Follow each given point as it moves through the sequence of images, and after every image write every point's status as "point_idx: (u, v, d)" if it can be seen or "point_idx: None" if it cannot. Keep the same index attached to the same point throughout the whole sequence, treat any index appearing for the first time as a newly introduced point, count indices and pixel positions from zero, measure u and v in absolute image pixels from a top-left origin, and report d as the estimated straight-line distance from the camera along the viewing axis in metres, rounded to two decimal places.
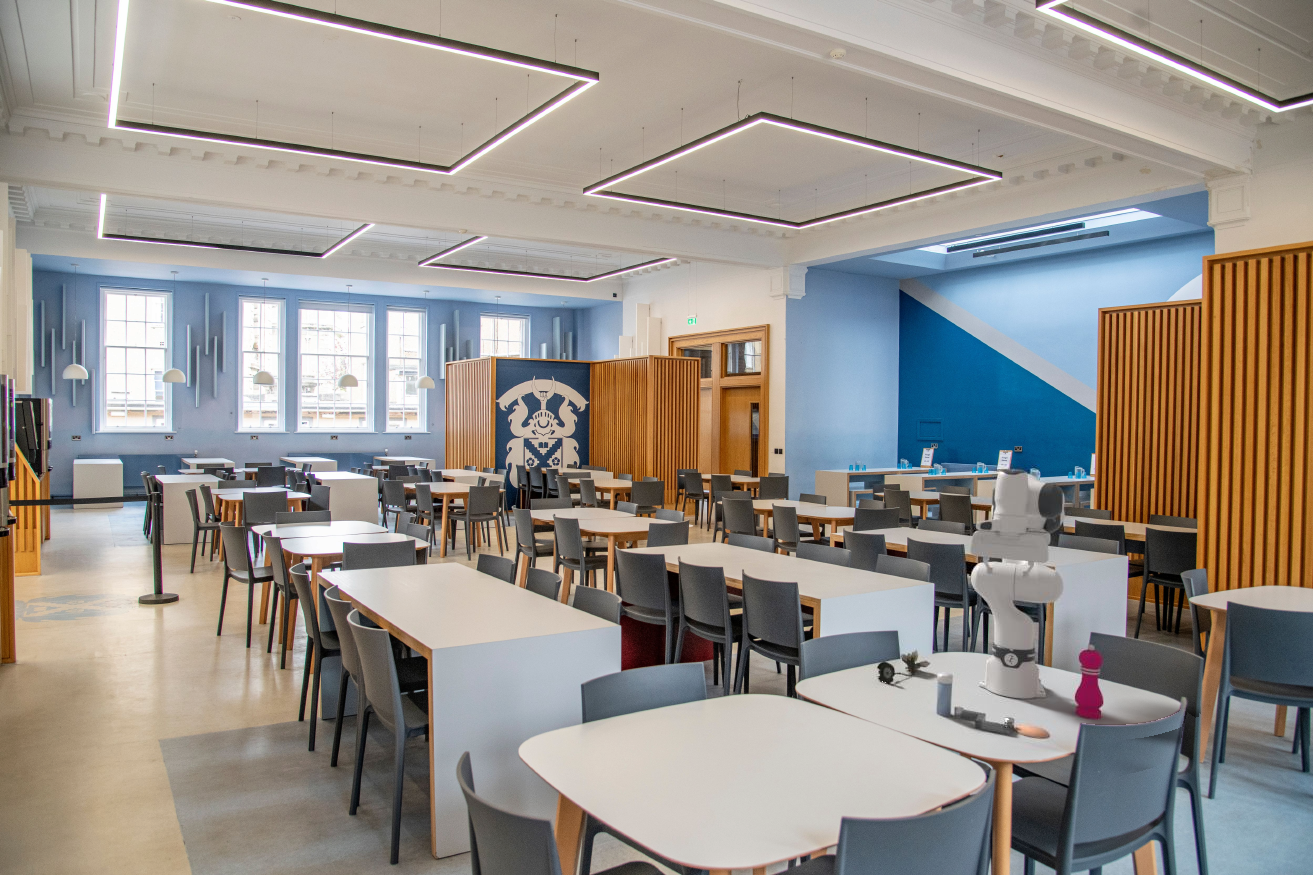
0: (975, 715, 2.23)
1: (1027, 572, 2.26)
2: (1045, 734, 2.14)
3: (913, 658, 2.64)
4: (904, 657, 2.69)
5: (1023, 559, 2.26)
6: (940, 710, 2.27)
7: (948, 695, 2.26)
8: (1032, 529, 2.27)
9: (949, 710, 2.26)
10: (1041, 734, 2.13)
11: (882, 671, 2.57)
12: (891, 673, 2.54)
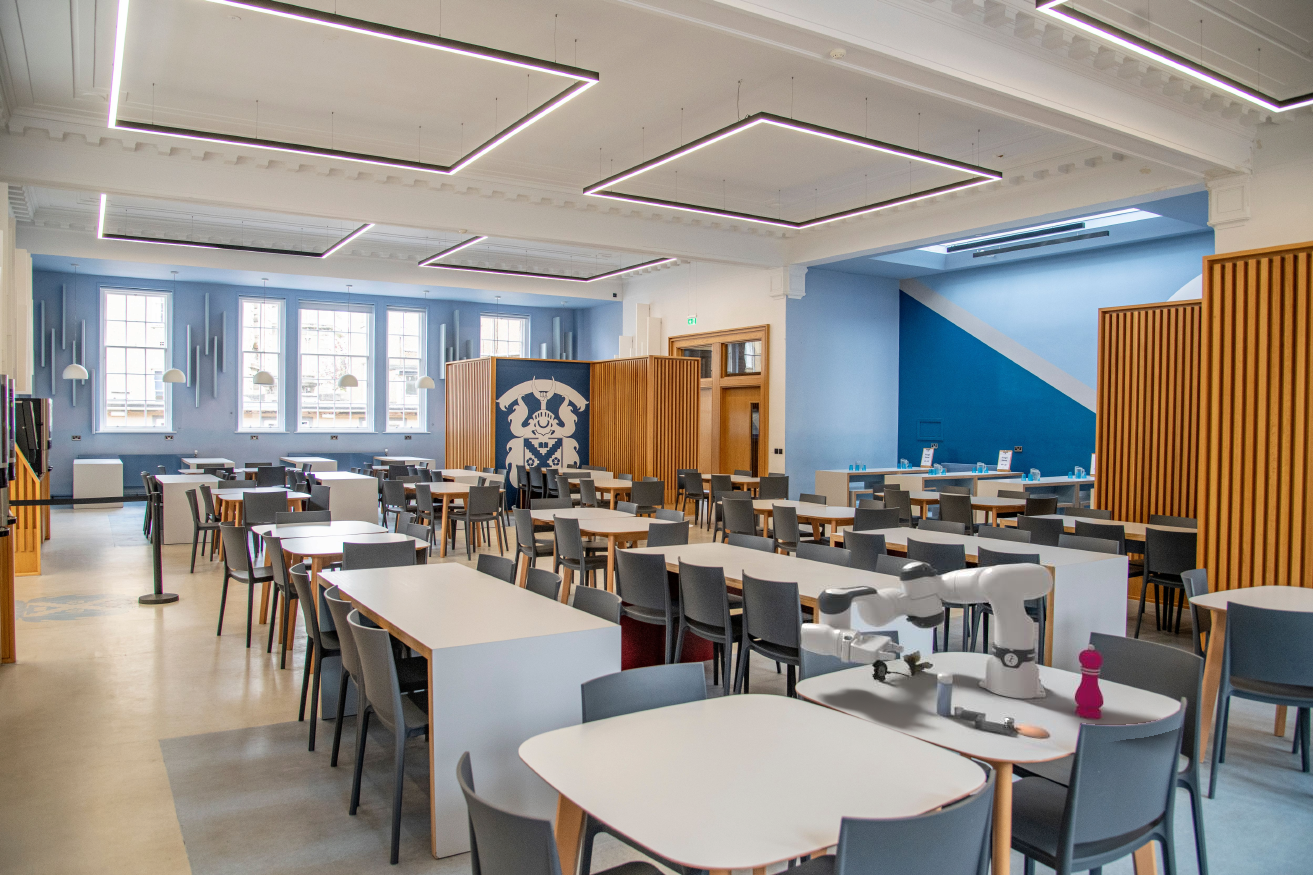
0: (975, 715, 2.23)
1: (898, 645, 2.40)
2: (1045, 734, 2.14)
3: (914, 658, 2.64)
4: (908, 657, 2.69)
5: (885, 641, 2.40)
6: (940, 710, 2.27)
7: (948, 695, 2.26)
8: None
9: (949, 710, 2.26)
10: (1041, 734, 2.13)
11: (877, 669, 2.59)
12: (884, 671, 2.56)
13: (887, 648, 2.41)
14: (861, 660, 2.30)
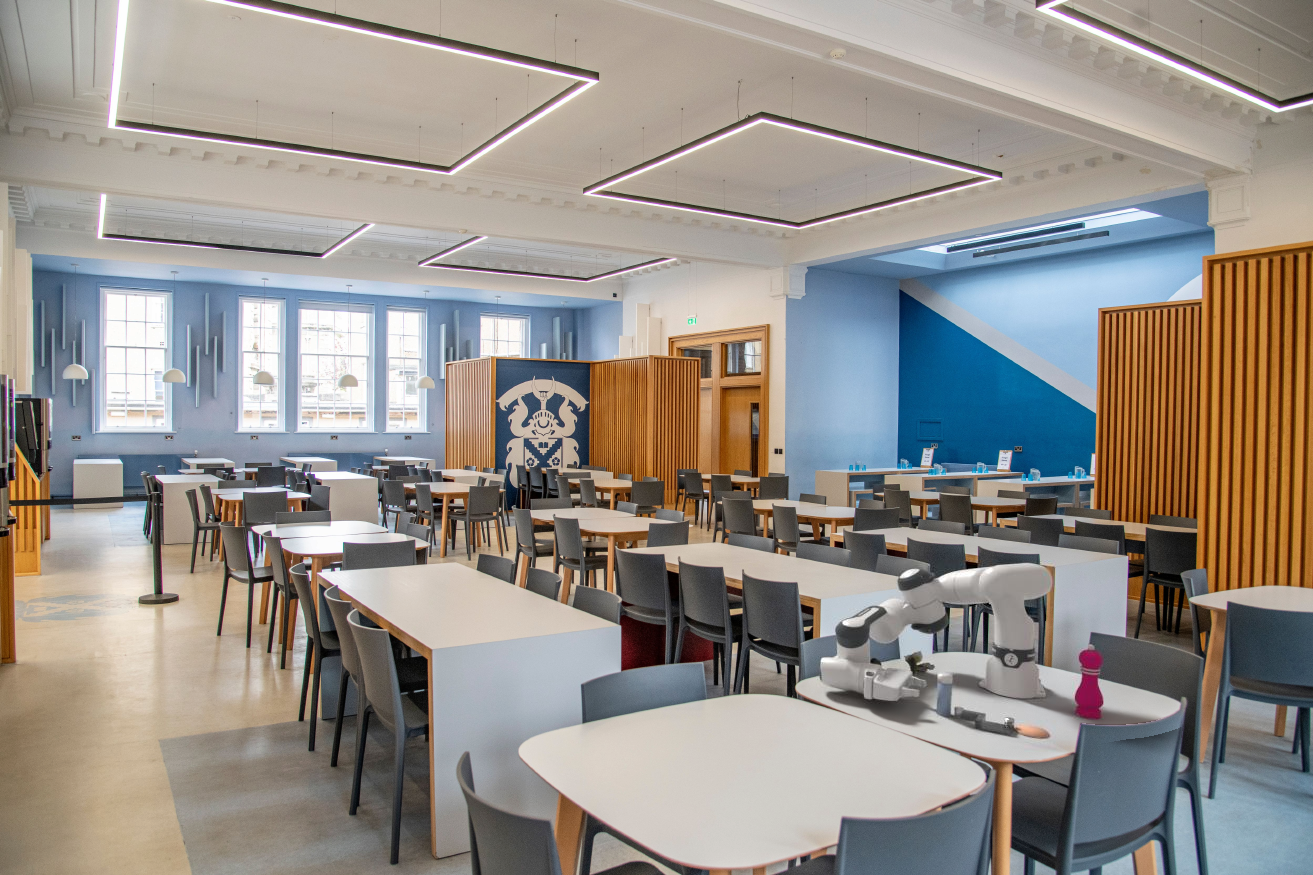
0: (975, 715, 2.23)
1: (920, 679, 2.36)
2: (1045, 734, 2.14)
3: (914, 659, 2.63)
4: None
5: (907, 675, 2.36)
6: (940, 710, 2.27)
7: (948, 695, 2.26)
8: None
9: (949, 710, 2.26)
10: (1041, 734, 2.13)
11: None
12: None
13: (909, 682, 2.37)
14: (885, 697, 2.26)
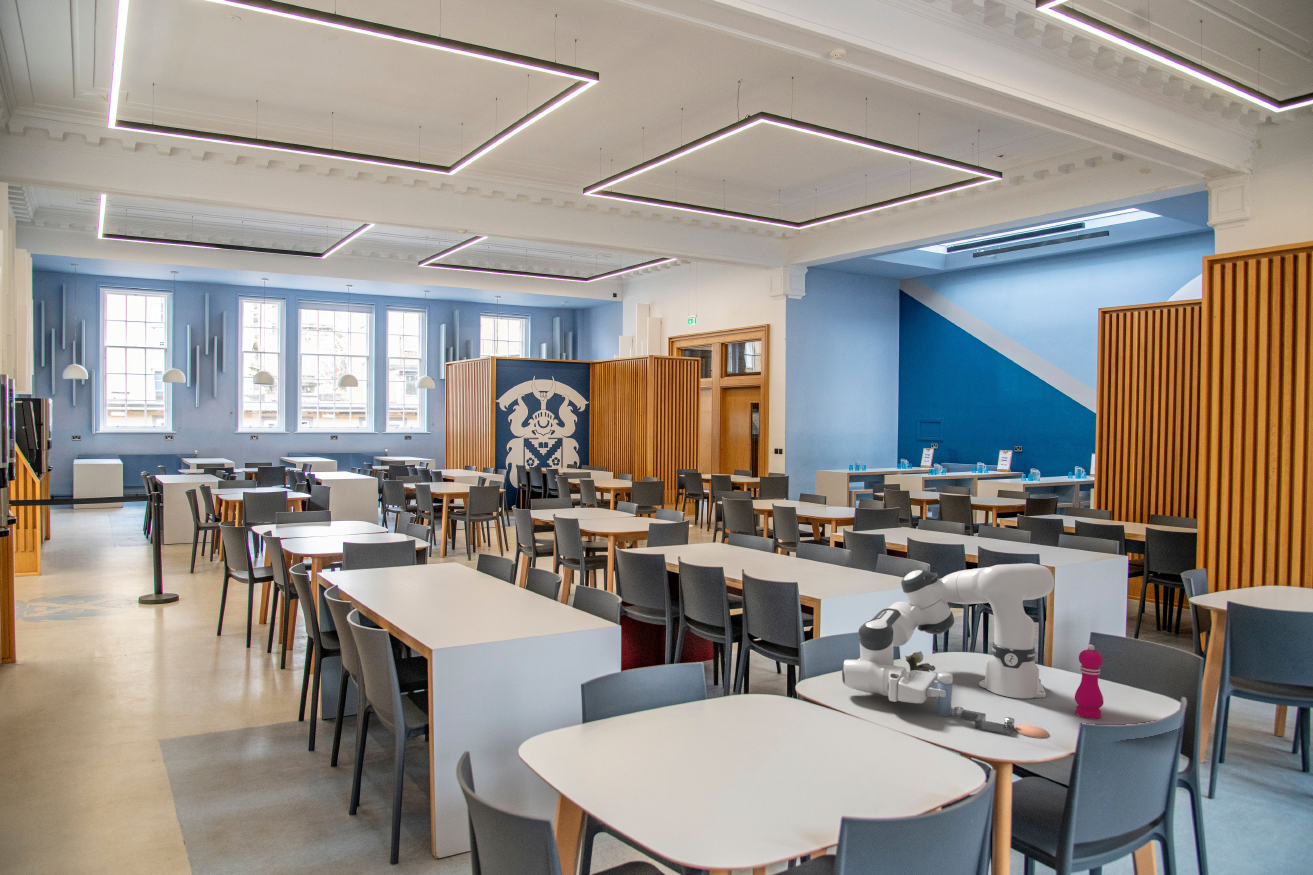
0: (975, 715, 2.23)
1: None
2: (1045, 734, 2.14)
3: (914, 659, 2.63)
4: None
5: (932, 677, 2.33)
6: (940, 710, 2.27)
7: (948, 695, 2.26)
8: None
9: (949, 710, 2.26)
10: (1041, 734, 2.13)
11: None
12: None
13: None
14: (910, 699, 2.23)
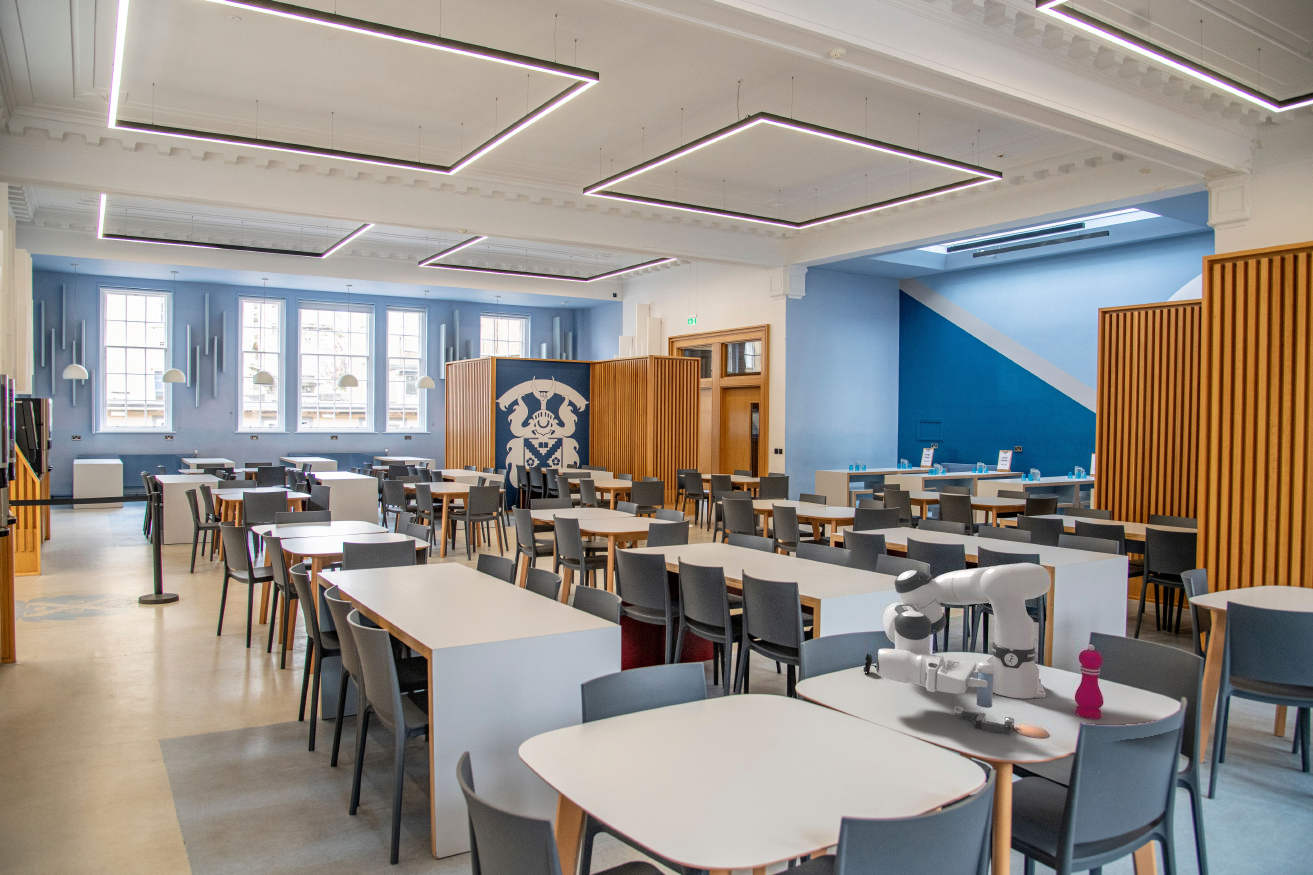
0: (975, 715, 2.23)
1: None
2: (1045, 734, 2.14)
3: None
4: None
5: (971, 667, 2.22)
6: (981, 701, 2.16)
7: (989, 685, 2.15)
8: None
9: (990, 701, 2.15)
10: (1041, 734, 2.13)
11: None
12: (870, 665, 2.62)
13: None
14: (950, 690, 2.12)
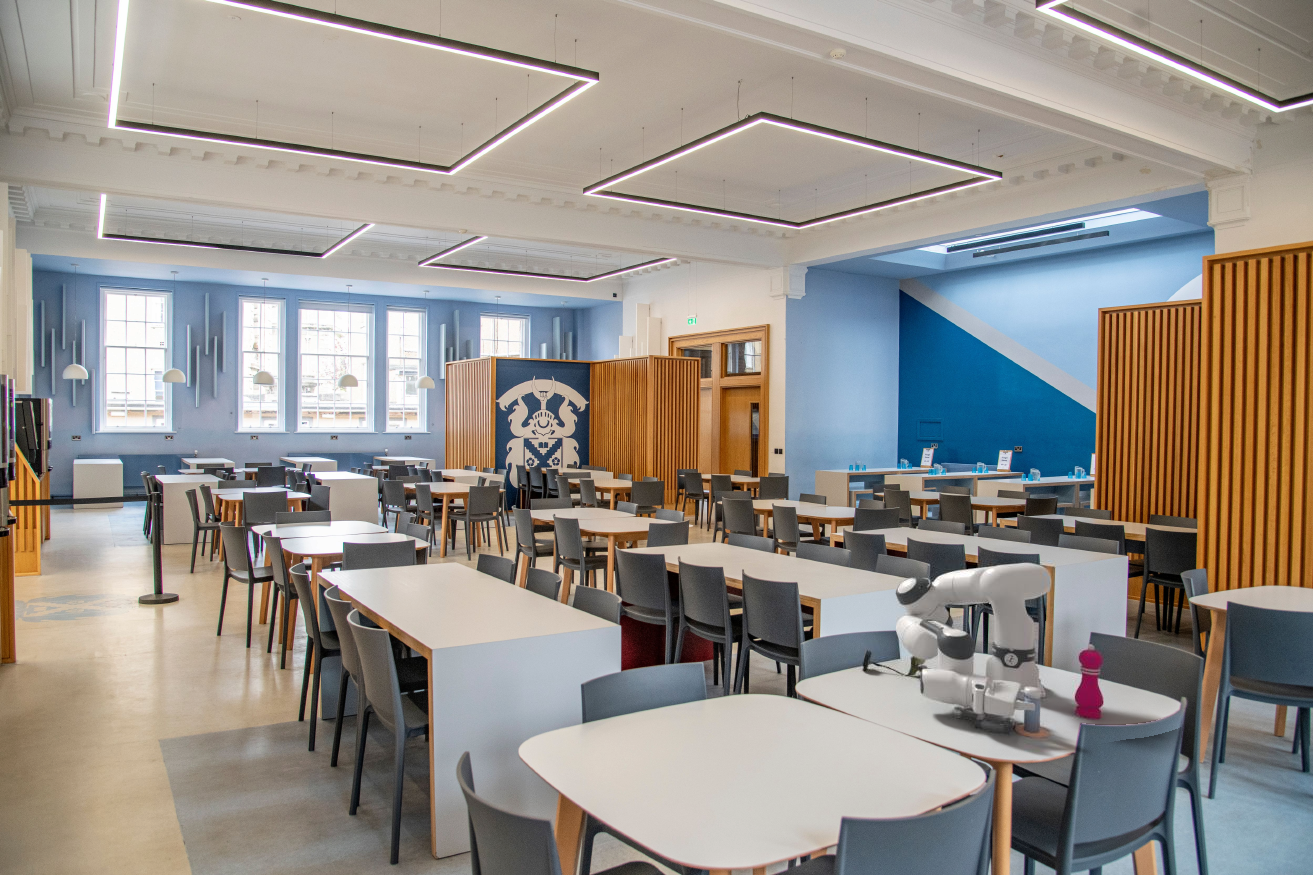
0: (975, 715, 2.23)
1: None
2: (1045, 734, 2.14)
3: (914, 659, 2.63)
4: None
5: (1017, 688, 2.21)
6: (1028, 726, 2.15)
7: (1037, 711, 2.14)
8: None
9: (1038, 727, 2.14)
10: (1041, 734, 2.13)
11: None
12: None
13: None
14: (999, 712, 2.11)
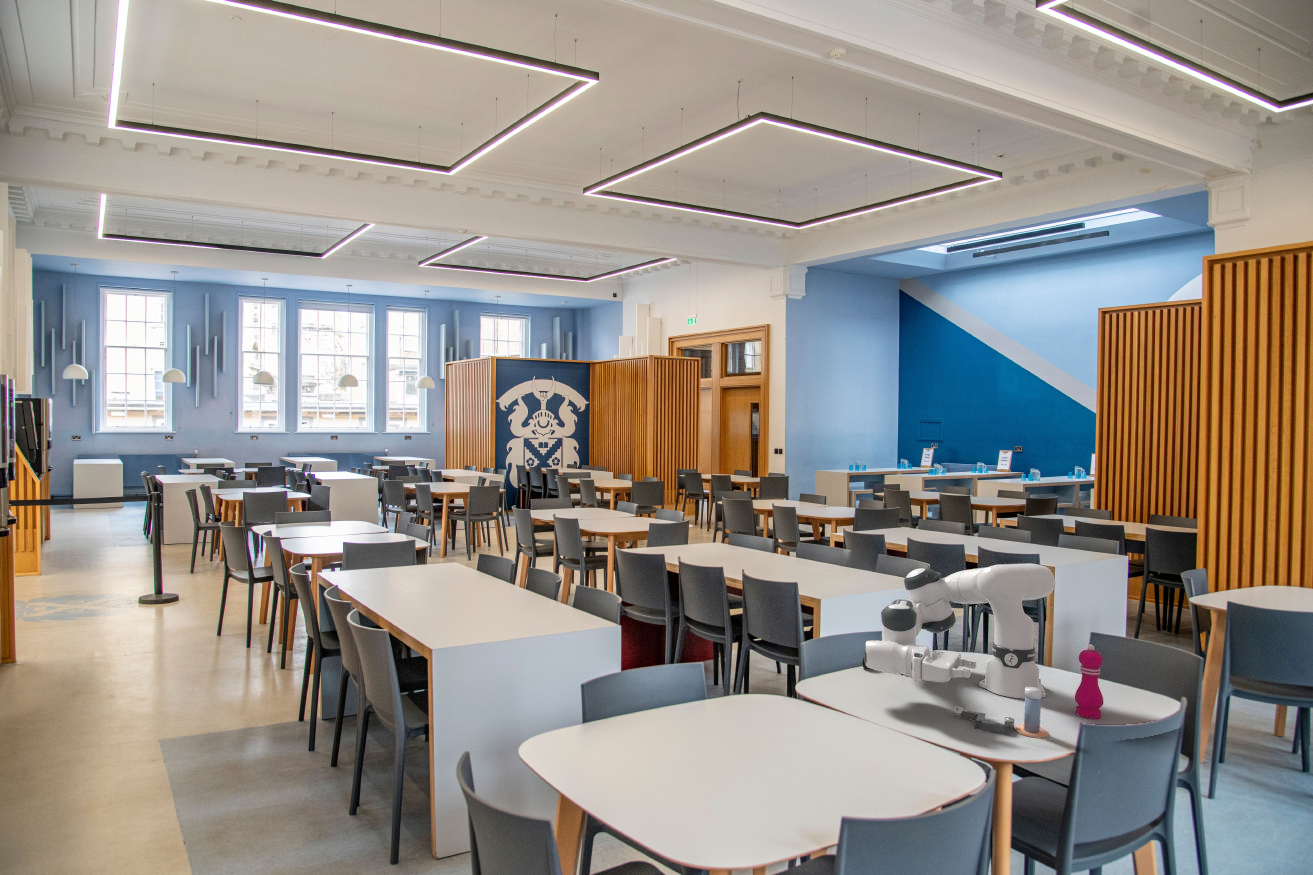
0: (975, 715, 2.23)
1: None
2: (1045, 734, 2.14)
3: None
4: None
5: (956, 657, 2.29)
6: (1028, 726, 2.15)
7: (1037, 711, 2.14)
8: None
9: (1038, 727, 2.14)
10: (1041, 734, 2.13)
11: None
12: None
13: (958, 664, 2.30)
14: (935, 678, 2.18)
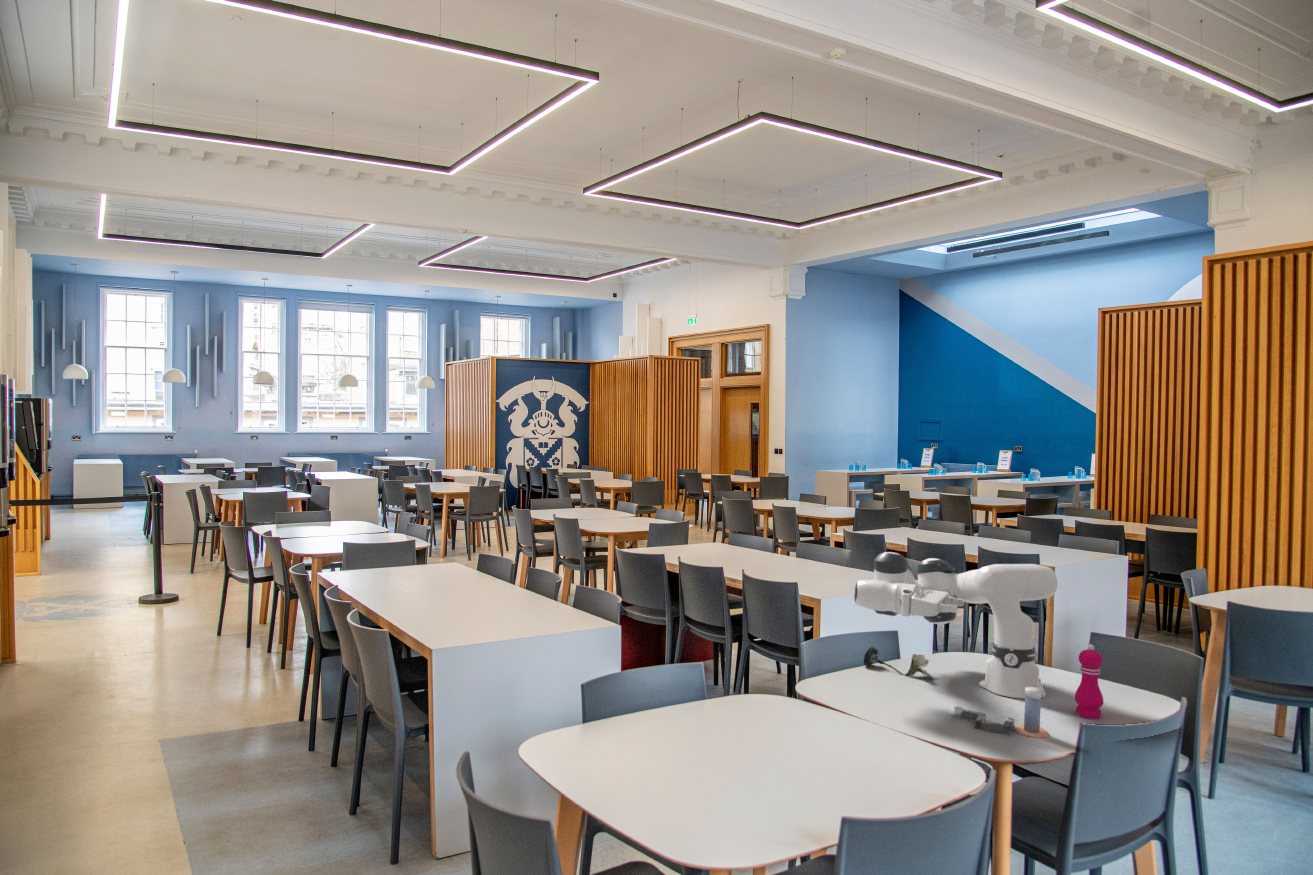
0: (975, 715, 2.23)
1: (958, 599, 2.34)
2: (1045, 734, 2.14)
3: (913, 660, 2.62)
4: (925, 662, 2.64)
5: (944, 595, 2.35)
6: (1028, 726, 2.15)
7: (1037, 711, 2.14)
8: None
9: (1038, 727, 2.14)
10: (1041, 734, 2.13)
11: None
12: None
13: (946, 602, 2.35)
14: (923, 613, 2.24)
